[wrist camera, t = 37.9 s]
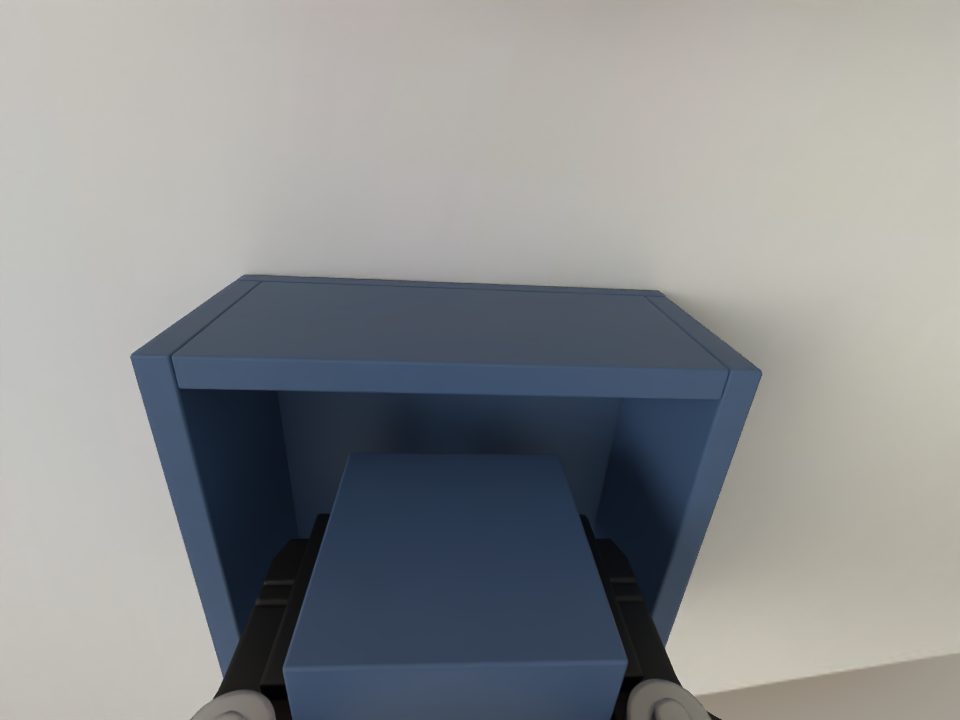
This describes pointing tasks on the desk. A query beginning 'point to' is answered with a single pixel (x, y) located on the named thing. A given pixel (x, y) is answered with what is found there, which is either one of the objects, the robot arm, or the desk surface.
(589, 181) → the desk surface
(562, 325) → the slate bin
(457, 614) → the slate block
